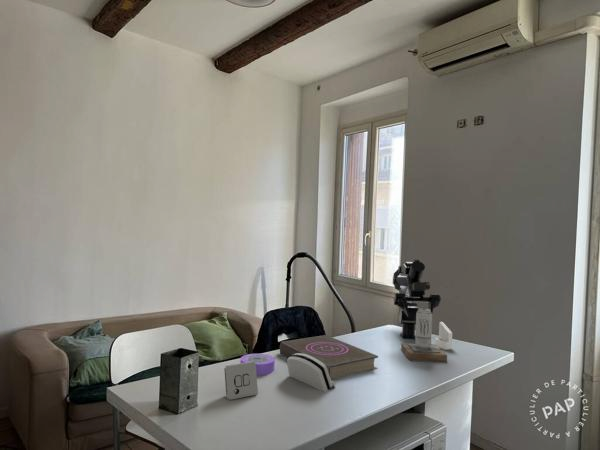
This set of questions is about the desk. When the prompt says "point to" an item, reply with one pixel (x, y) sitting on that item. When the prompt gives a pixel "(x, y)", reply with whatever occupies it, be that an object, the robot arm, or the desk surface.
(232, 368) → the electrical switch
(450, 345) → the white angled block
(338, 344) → the book
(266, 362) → the masking tape
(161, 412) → the desk surface
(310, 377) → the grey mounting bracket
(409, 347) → the brown square frame
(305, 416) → the desk surface
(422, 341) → the energy drink can
